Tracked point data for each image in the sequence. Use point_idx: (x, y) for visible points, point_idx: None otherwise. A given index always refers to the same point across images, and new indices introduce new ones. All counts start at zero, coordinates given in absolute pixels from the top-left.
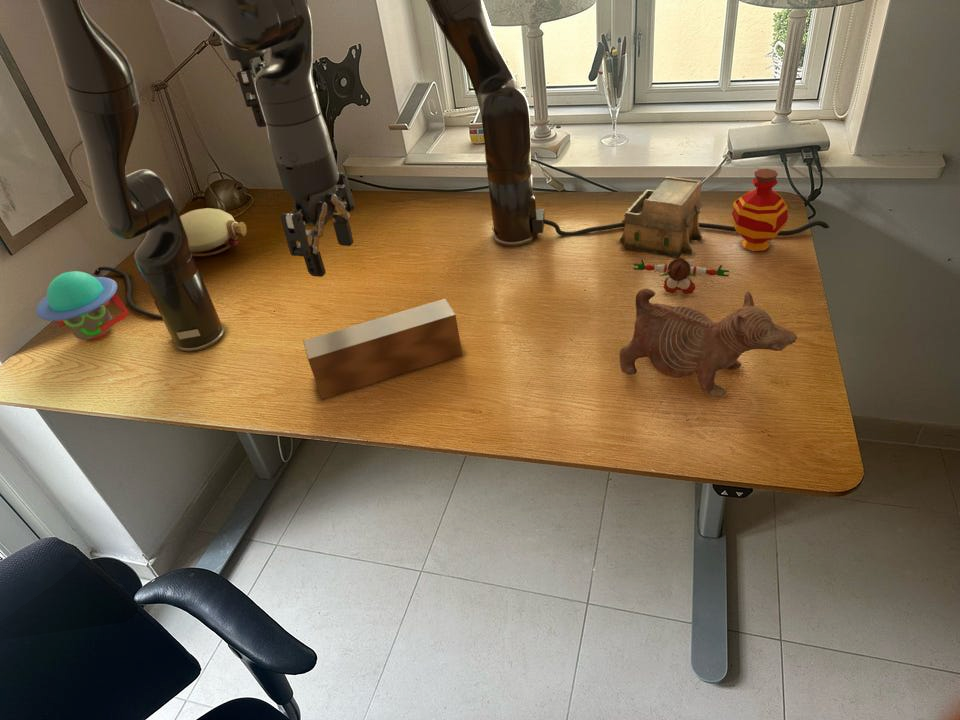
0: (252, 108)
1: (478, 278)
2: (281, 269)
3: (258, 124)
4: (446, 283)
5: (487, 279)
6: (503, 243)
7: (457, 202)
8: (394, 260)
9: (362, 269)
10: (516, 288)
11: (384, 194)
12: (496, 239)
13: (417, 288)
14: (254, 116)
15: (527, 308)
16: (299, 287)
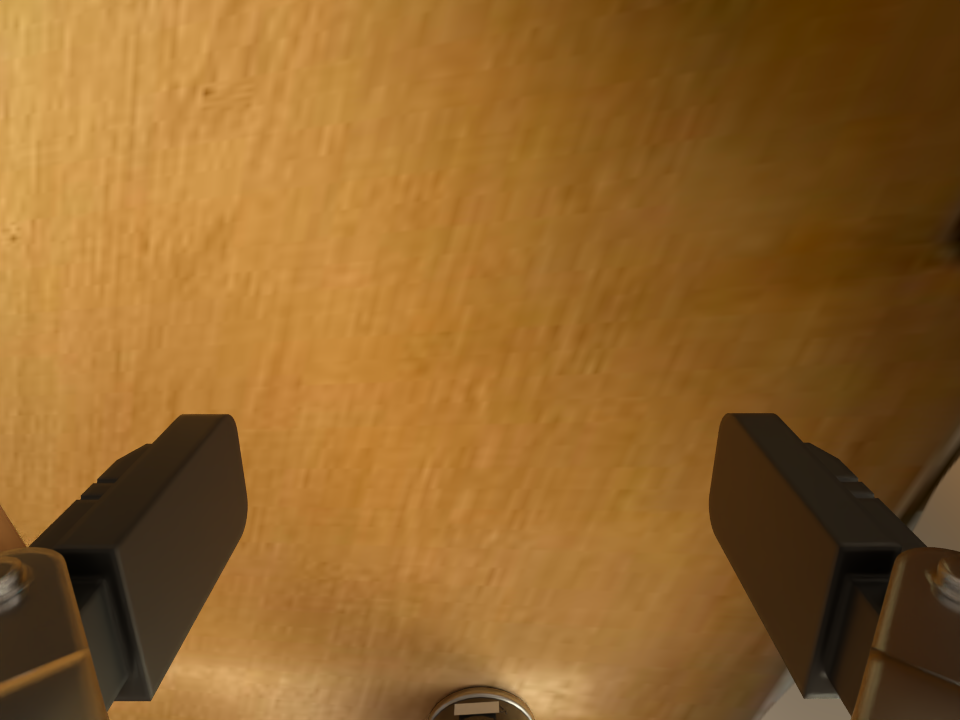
0: (65, 547)
1: (296, 639)
2: (493, 74)
3: (142, 448)
4: (287, 574)
5: (288, 656)
6: (438, 706)
7: (746, 620)
8: (444, 453)
9: (415, 364)
10: (237, 703)
11: (939, 415)
12: (460, 697)
13: (274, 510)
14: (129, 471)
15: (154, 713)
16: (347, 164)
